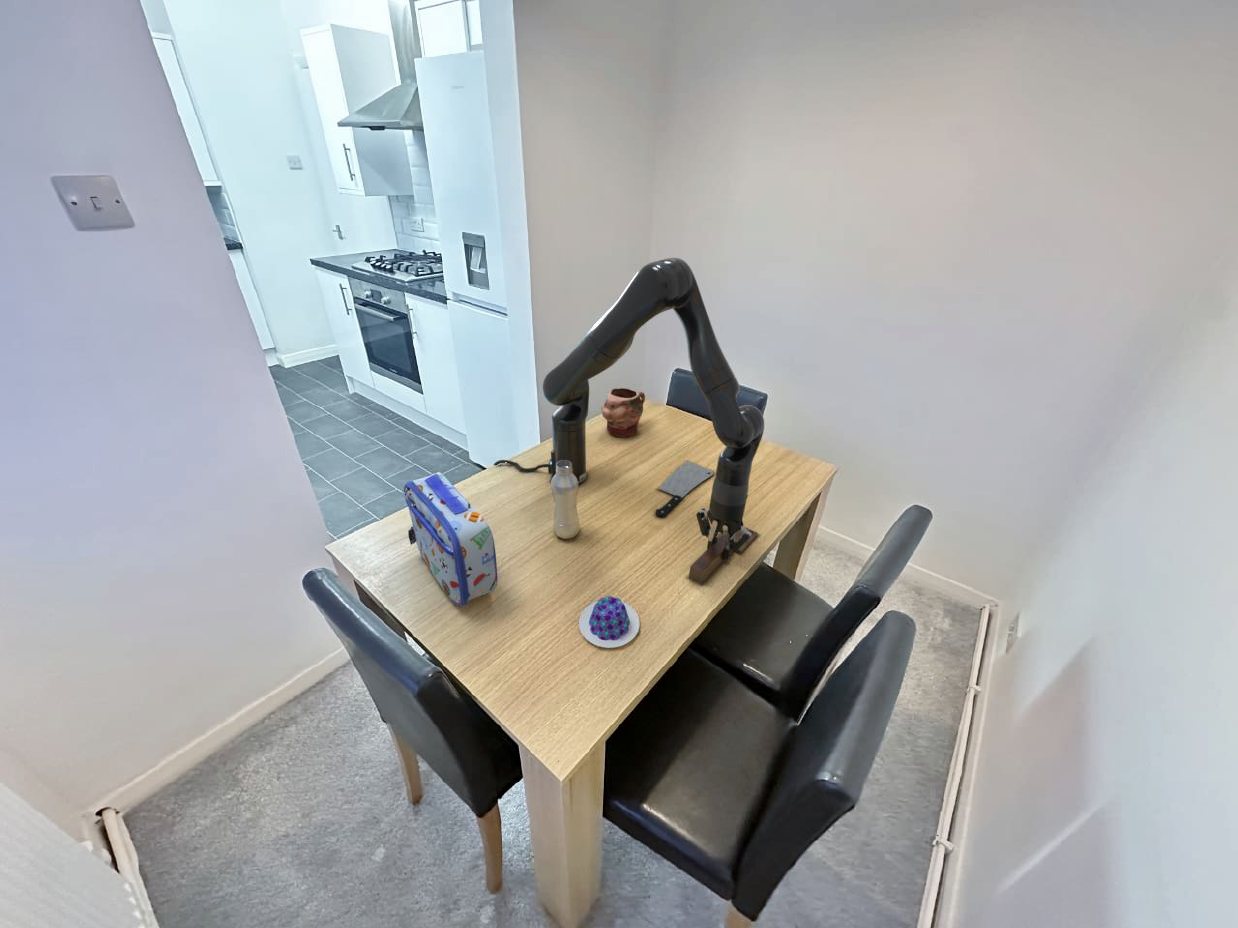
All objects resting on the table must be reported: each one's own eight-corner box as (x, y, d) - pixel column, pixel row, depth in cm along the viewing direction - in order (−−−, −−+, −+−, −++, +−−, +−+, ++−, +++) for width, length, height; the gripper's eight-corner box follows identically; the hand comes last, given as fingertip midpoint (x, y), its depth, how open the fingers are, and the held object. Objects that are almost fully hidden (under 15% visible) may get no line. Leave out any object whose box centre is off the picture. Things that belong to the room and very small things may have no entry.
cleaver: (632, 505, 131) (664, 519, 126) (633, 503, 131) (664, 517, 126) (686, 461, 152) (715, 472, 147) (686, 460, 152) (716, 471, 147)
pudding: (612, 592, 105) (613, 574, 102) (652, 627, 97) (653, 609, 94) (566, 621, 98) (566, 603, 95) (605, 661, 90) (605, 642, 87)
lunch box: (407, 549, 114) (386, 470, 103) (449, 531, 120) (434, 454, 109) (461, 621, 97) (444, 535, 85) (507, 596, 103) (497, 512, 91)
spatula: (708, 588, 106) (710, 576, 104) (681, 573, 110) (682, 561, 108) (757, 535, 122) (759, 524, 120) (732, 523, 126) (734, 512, 124)
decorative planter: (627, 414, 179) (628, 379, 172) (654, 424, 173) (657, 387, 166) (592, 434, 166) (592, 396, 158) (621, 445, 159) (622, 406, 152)
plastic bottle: (559, 545, 117) (556, 474, 107) (549, 529, 122) (545, 460, 112) (584, 537, 120) (583, 468, 109) (573, 522, 125) (571, 454, 114)
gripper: (692, 489, 107) (684, 549, 116) (750, 515, 100) (737, 577, 109) (709, 476, 112) (701, 534, 121) (766, 499, 105) (753, 560, 114)
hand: (718, 554), depth 115 cm, fingers closed on spatula, 3 cm apart
